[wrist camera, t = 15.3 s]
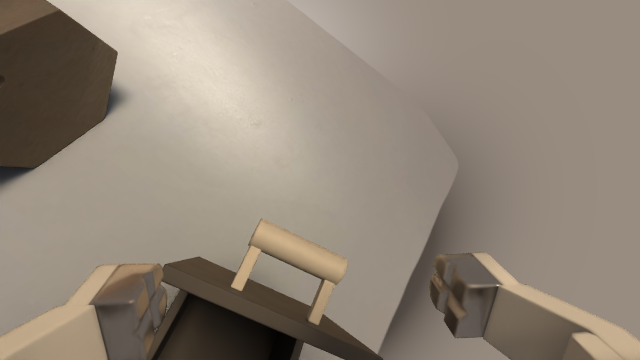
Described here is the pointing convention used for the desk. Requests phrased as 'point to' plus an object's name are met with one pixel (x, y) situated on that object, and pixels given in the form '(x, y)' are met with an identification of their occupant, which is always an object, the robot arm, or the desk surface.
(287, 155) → the desk surface
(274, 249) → the brown box lid
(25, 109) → the brown hexagonal block
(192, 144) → the desk surface
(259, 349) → the dark wooden chest
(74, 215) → the desk surface
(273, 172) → the desk surface
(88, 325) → the robot arm
